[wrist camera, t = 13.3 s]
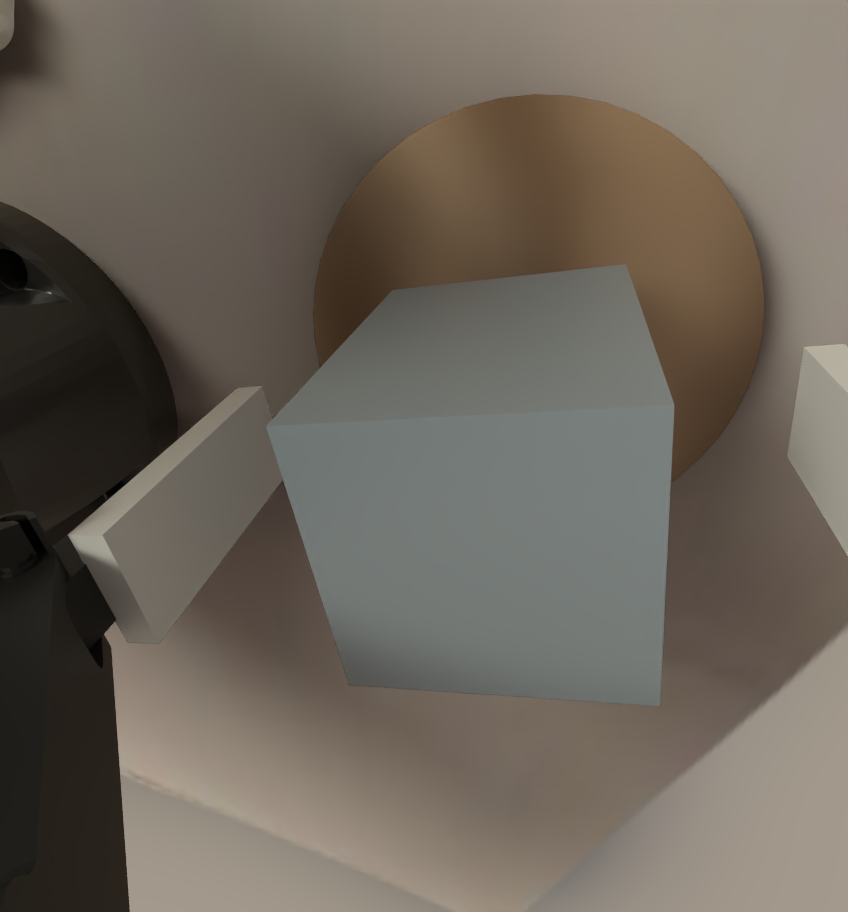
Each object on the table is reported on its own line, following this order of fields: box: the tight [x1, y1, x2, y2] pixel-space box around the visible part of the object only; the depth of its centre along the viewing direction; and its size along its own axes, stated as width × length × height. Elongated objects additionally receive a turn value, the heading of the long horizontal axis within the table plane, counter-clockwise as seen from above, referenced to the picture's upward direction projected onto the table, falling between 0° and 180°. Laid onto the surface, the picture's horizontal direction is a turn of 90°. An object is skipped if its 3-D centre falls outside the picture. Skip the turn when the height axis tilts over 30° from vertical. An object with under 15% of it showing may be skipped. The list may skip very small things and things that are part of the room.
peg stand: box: [313, 94, 765, 482], centre depth 16 cm, size 14×14×12 cm
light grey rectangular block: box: [266, 264, 674, 707], centre depth 13 cm, size 6×6×8 cm
